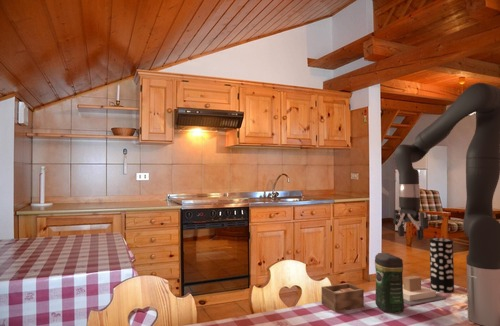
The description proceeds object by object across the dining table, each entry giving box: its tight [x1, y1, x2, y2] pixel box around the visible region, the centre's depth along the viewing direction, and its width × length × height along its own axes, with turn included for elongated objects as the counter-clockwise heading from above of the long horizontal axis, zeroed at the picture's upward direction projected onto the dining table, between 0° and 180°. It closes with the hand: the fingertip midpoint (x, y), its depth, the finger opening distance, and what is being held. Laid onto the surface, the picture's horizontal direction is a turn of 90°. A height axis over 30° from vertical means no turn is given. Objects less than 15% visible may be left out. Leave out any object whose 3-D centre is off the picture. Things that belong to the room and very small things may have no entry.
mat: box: [404, 294, 447, 307], centre depth 129 cm, size 18×15×1 cm
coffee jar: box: [374, 252, 405, 314], centre depth 117 cm, size 10×8×19 cm
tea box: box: [320, 282, 365, 313], centre depth 119 cm, size 12×8×6 cm, turn 113°
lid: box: [402, 275, 437, 301], centre depth 129 cm, size 13×9×6 cm
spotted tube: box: [429, 237, 455, 294], centre depth 137 cm, size 8×8×20 cm
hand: (410, 238), depth 130 cm, fingers open, 8 cm apart
